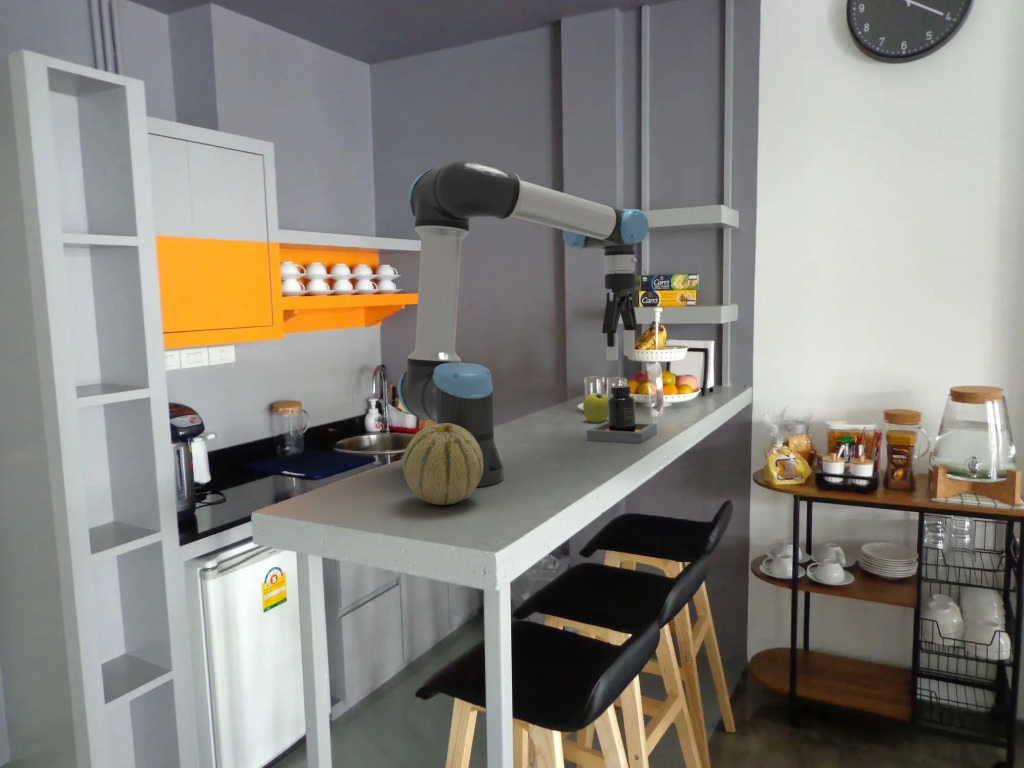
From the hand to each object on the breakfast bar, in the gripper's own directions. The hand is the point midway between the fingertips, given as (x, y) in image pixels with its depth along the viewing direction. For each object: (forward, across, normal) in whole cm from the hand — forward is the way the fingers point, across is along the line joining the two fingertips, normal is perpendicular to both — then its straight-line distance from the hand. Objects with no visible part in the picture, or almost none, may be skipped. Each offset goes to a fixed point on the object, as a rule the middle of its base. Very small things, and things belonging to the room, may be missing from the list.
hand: (620, 357), depth 192 cm
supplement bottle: (+20, 0, 0) cm, 20 cm away
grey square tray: (+20, 0, 0) cm, 20 cm away
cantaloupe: (+21, -69, +11) cm, 73 cm away
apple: (+20, +20, +14) cm, 32 cm away
